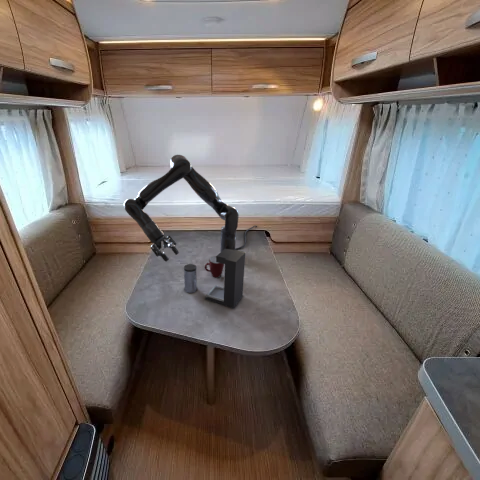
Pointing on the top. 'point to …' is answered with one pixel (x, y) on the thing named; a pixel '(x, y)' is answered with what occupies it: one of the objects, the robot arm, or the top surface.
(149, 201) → the robot arm
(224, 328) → the top surface
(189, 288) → the lidded canister
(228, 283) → the coffee maker
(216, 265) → the mug
